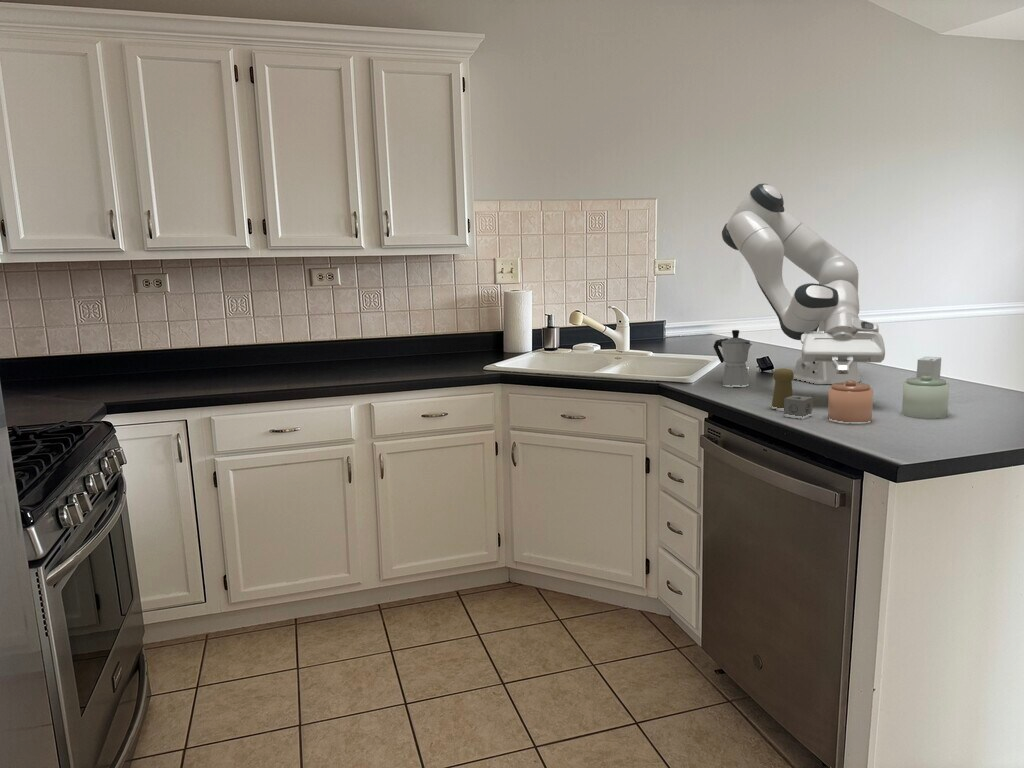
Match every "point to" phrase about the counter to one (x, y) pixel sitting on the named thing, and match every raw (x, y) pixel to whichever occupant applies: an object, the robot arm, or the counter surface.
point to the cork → (782, 386)
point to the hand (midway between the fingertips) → (842, 372)
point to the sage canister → (925, 397)
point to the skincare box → (929, 367)
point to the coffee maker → (734, 359)
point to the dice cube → (798, 405)
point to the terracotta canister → (850, 402)
